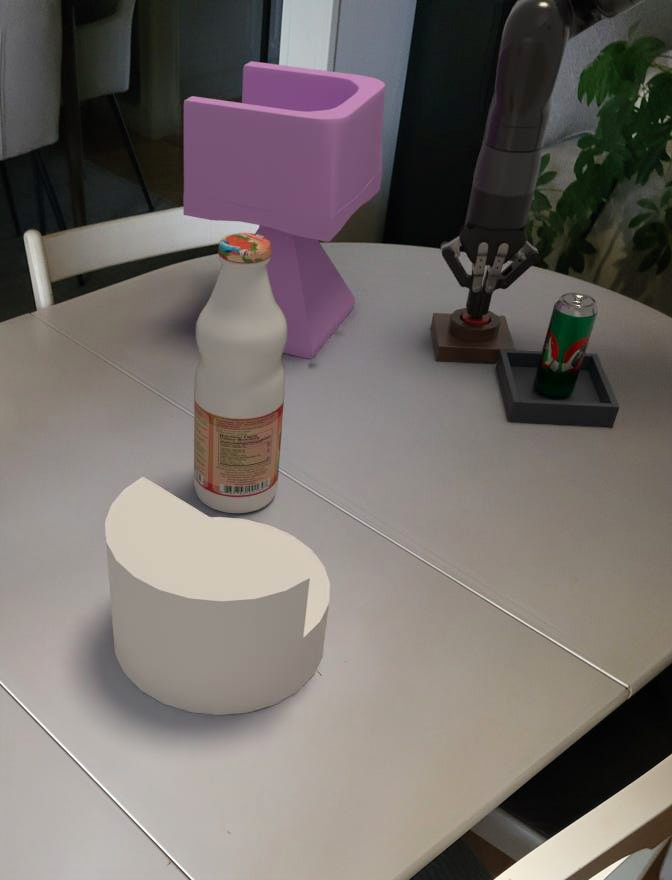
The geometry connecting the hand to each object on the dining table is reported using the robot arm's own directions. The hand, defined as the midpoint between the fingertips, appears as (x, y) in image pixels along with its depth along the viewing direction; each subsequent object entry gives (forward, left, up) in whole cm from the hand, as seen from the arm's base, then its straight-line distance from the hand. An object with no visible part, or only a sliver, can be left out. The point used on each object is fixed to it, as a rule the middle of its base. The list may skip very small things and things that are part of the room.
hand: (475, 316), depth 132 cm
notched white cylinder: (+30, +62, -4) cm, 69 cm away
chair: (+27, -5, -4) cm, 28 cm away
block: (0, 0, -4) cm, 4 cm away
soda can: (-9, +13, -4) cm, 16 cm away
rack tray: (-9, +13, -4) cm, 16 cm away
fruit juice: (+30, +38, -4) cm, 49 cm away
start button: (0, 0, -2) cm, 2 cm away
